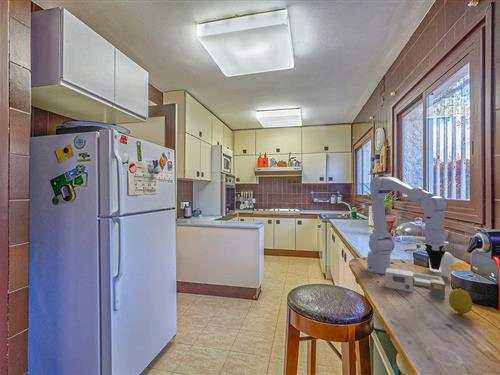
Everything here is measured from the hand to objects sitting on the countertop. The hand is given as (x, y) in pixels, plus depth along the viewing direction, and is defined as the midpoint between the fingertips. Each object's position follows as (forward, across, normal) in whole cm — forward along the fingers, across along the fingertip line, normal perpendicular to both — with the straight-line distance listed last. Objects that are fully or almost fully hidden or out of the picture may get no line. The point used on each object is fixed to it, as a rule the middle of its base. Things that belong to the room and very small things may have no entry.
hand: (434, 266), depth 91 cm
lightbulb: (+11, +25, -5) cm, 28 cm away
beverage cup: (+10, +33, -2) cm, 35 cm away
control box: (+10, +1, +11) cm, 15 cm away
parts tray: (+10, +12, +2) cm, 16 cm away
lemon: (+11, -13, -6) cm, 18 cm away
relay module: (+10, 0, -1) cm, 11 cm away
